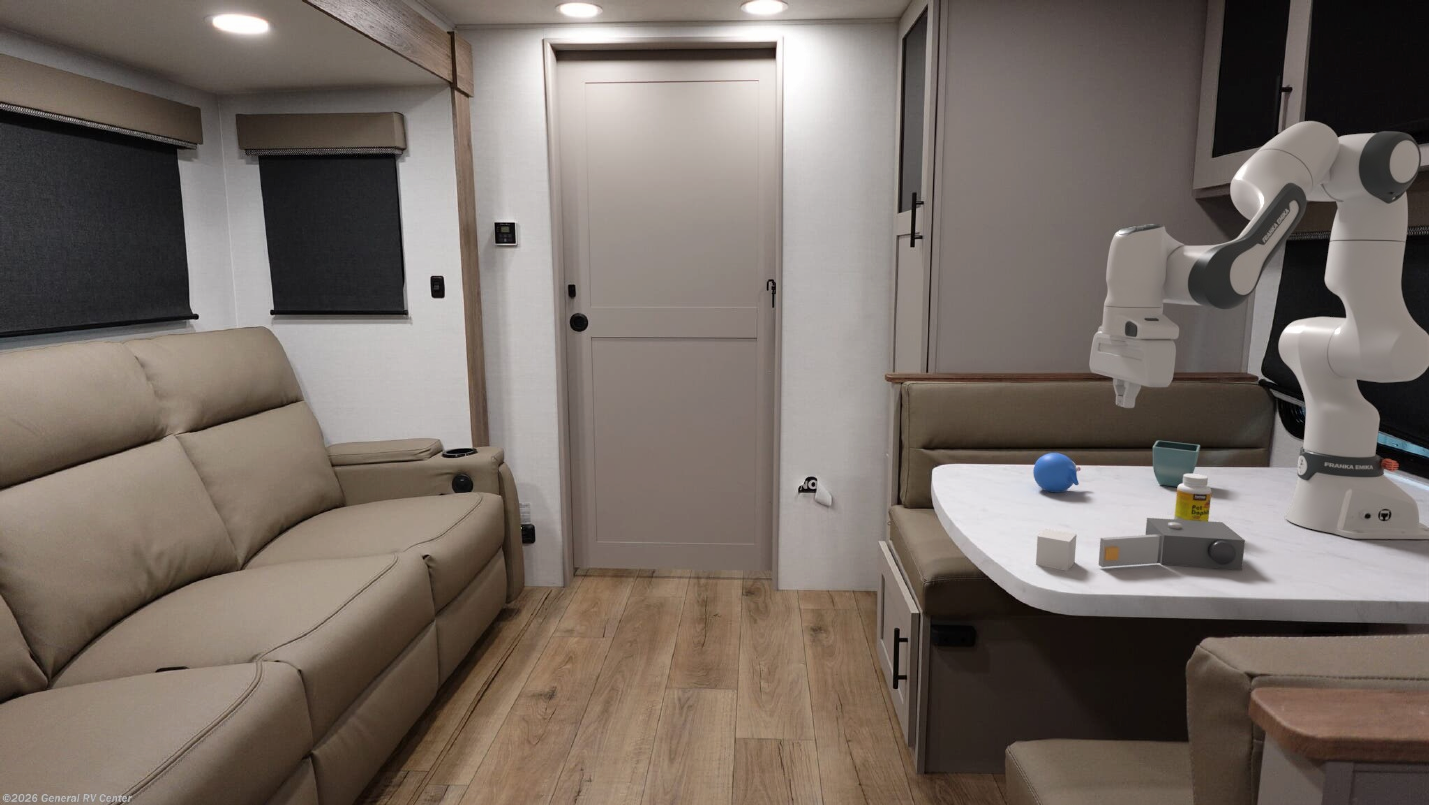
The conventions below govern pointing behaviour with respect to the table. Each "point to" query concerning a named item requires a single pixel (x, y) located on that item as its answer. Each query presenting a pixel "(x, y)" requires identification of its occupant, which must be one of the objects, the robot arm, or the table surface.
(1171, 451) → the flower pot
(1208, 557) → the camera body
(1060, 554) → the white cube
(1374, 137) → the robot arm
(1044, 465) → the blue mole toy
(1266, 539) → the table surface
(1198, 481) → the supplement bottle
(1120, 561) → the side door
